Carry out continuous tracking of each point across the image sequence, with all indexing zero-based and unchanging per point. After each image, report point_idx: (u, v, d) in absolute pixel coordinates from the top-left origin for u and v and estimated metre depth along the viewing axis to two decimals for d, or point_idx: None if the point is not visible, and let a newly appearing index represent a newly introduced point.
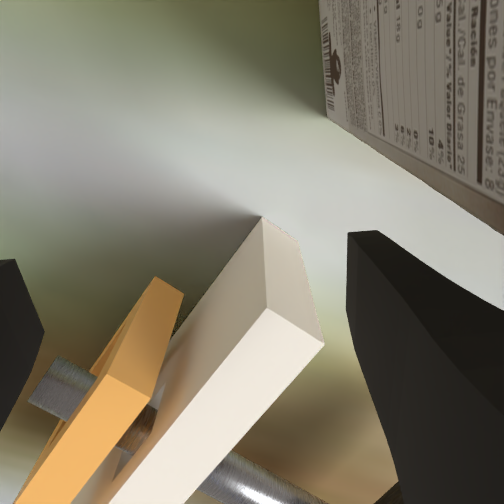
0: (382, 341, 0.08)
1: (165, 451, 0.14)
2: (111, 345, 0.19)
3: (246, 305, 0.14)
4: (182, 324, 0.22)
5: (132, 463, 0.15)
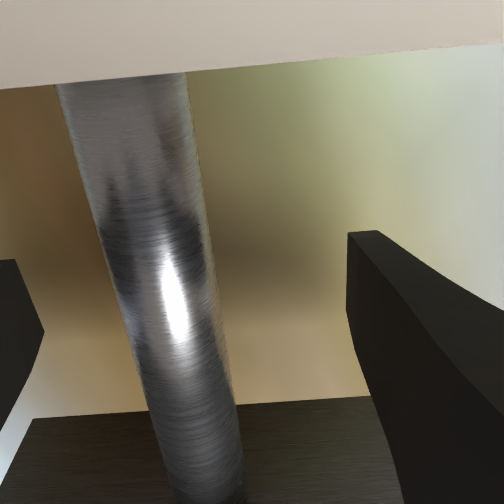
0: (382, 341, 0.08)
1: None
2: None
3: None
4: None
5: None
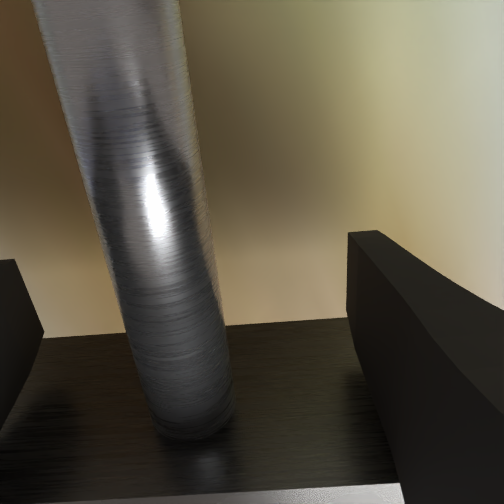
0: (382, 341, 0.08)
1: None
2: None
3: None
4: None
5: None
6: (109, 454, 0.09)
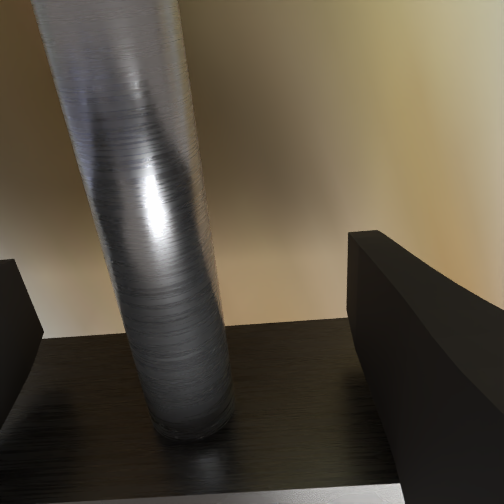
0: (383, 341, 0.08)
1: None
2: None
3: None
4: None
5: None
6: (109, 454, 0.09)
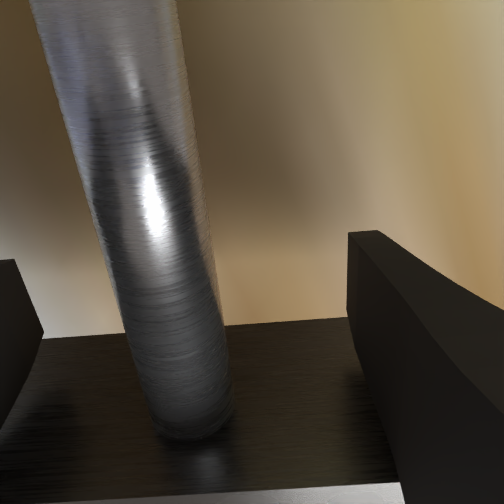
0: (383, 341, 0.08)
1: None
2: None
3: None
4: None
5: None
6: (109, 454, 0.09)
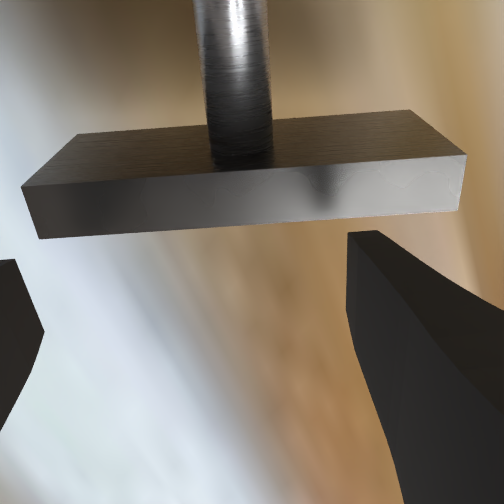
0: (382, 341, 0.08)
1: None
2: None
3: None
4: None
5: None
6: (184, 162, 0.12)
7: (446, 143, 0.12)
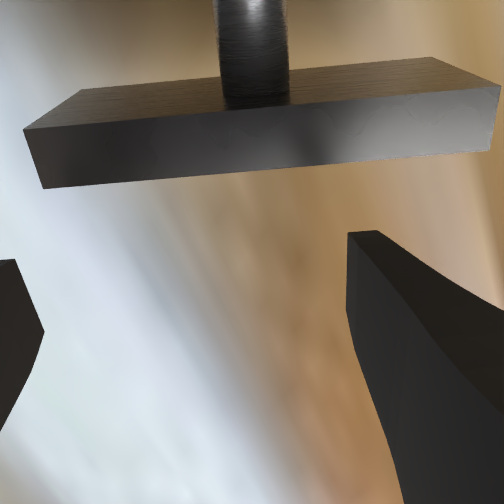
0: (382, 341, 0.08)
1: None
2: None
3: None
4: None
5: None
6: (196, 104, 0.11)
7: (476, 78, 0.11)
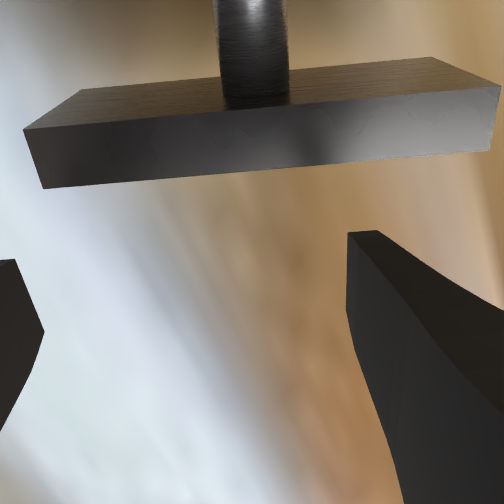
0: (382, 341, 0.08)
1: None
2: None
3: None
4: None
5: None
6: (196, 104, 0.11)
7: (476, 78, 0.11)
